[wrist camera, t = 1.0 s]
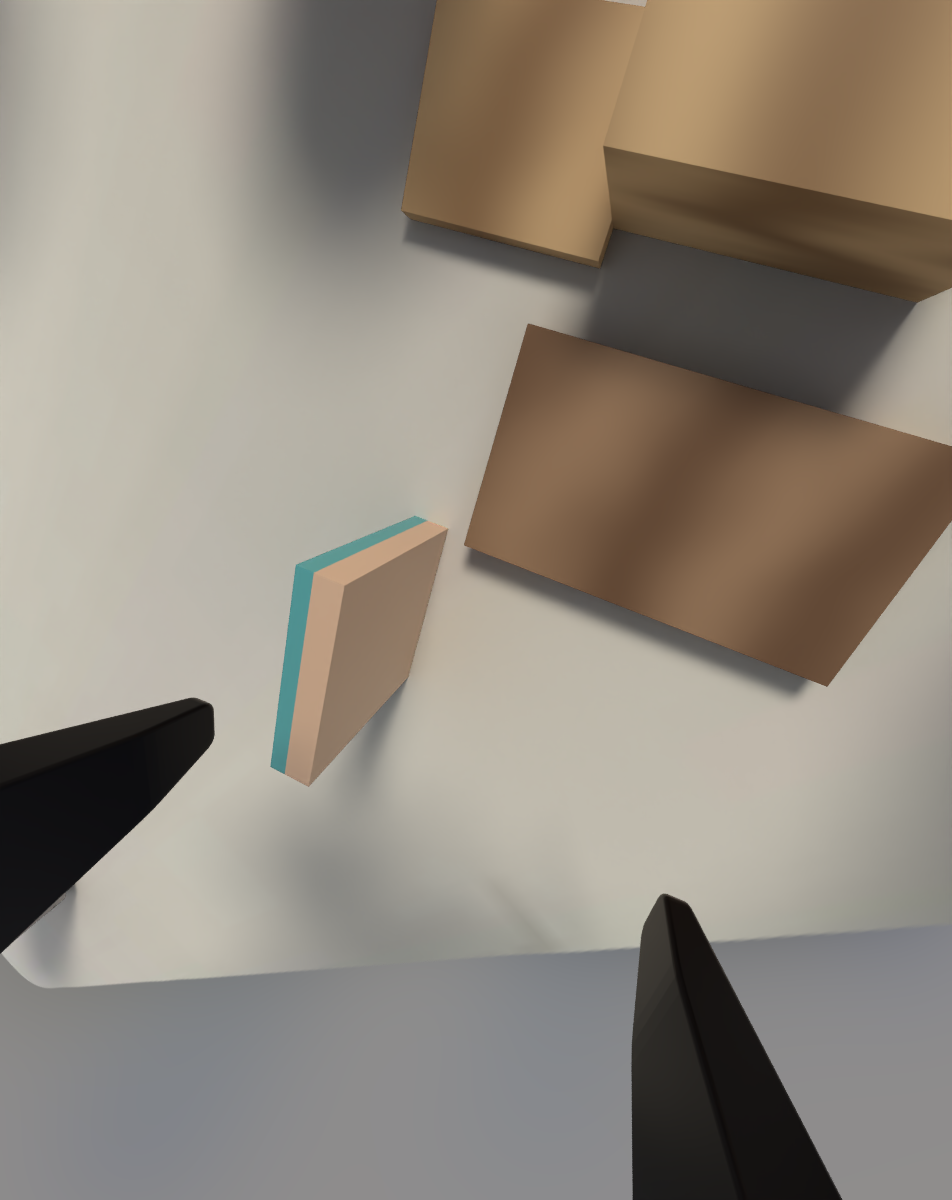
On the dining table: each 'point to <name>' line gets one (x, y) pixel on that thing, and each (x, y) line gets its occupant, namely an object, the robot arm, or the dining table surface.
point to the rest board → (707, 501)
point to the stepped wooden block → (696, 132)
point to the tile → (351, 640)
